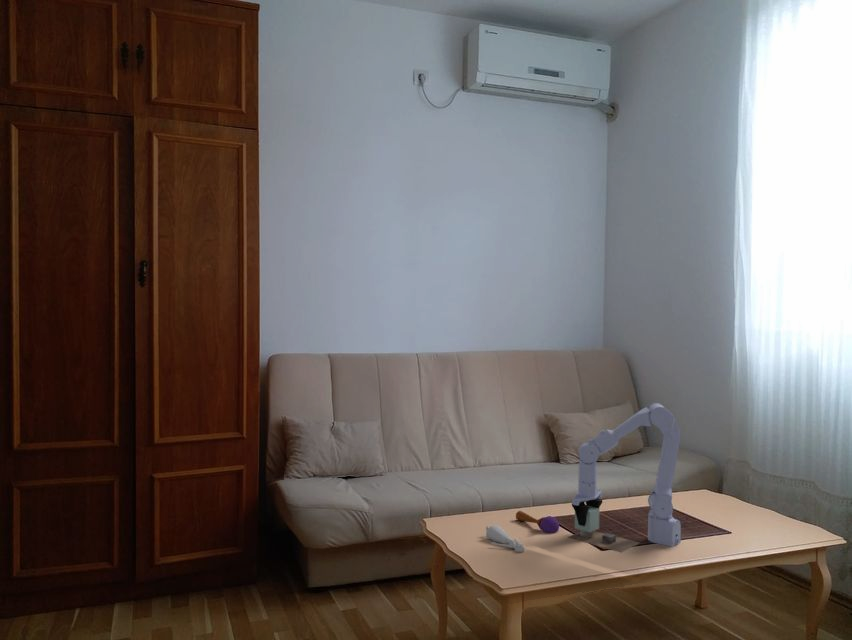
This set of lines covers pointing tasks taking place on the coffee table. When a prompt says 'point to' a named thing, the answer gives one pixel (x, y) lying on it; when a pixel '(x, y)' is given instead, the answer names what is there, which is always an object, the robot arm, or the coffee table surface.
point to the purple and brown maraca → (540, 522)
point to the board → (598, 541)
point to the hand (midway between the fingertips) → (586, 523)
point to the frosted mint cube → (589, 520)
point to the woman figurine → (502, 538)
